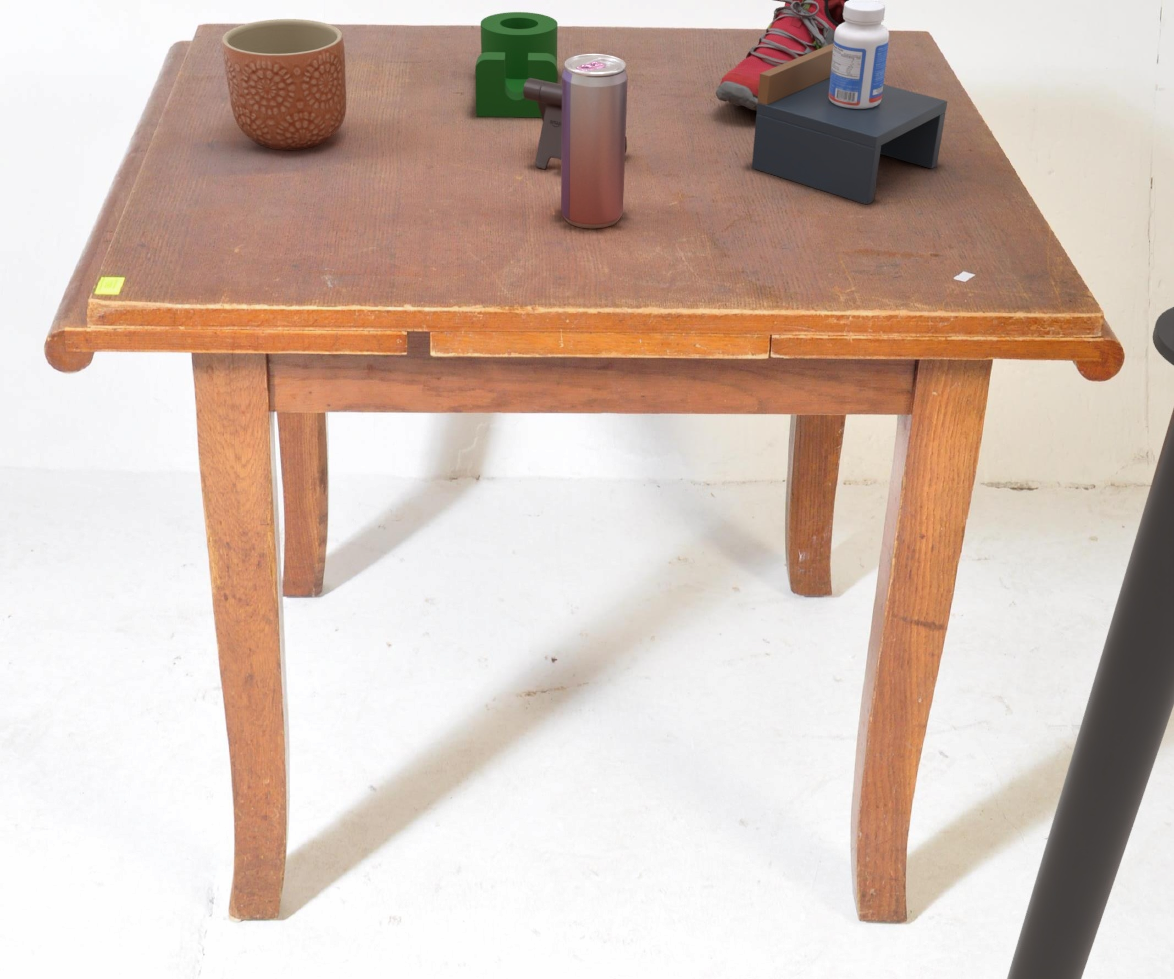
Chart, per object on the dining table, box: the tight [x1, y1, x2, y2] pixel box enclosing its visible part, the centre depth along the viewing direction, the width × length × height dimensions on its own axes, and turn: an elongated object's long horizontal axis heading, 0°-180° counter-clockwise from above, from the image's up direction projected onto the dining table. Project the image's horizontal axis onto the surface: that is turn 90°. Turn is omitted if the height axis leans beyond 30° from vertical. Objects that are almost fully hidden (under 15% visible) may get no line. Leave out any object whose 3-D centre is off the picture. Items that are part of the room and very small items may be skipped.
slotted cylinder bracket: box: [474, 11, 558, 118], centre depth 166 cm, size 18×9×6 cm, turn 1°
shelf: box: [751, 44, 948, 205], centre depth 147 cm, size 14×14×10 cm
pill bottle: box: [829, 0, 890, 109], centre depth 144 cm, size 6×5×10 cm
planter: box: [221, 18, 347, 151], centre depth 151 cm, size 12×12×11 cm
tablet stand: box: [523, 78, 628, 170], centre depth 148 cm, size 9×8×8 cm
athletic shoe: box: [715, 0, 849, 112], centre depth 164 cm, size 12×25×12 cm, turn 128°
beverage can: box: [560, 53, 629, 230], centre depth 134 cm, size 6×6×15 cm
